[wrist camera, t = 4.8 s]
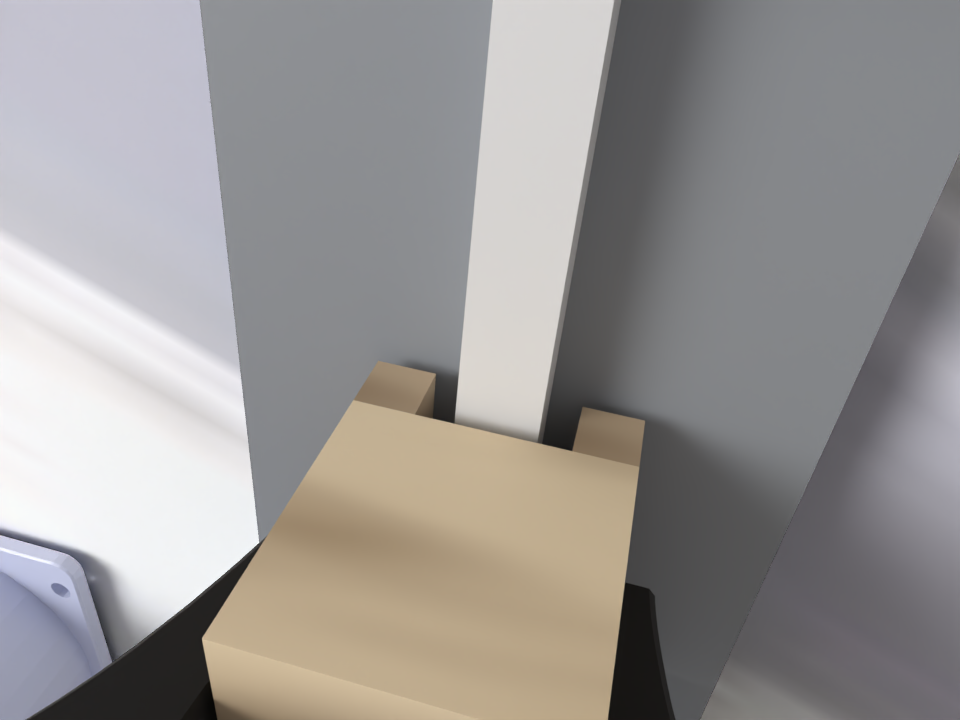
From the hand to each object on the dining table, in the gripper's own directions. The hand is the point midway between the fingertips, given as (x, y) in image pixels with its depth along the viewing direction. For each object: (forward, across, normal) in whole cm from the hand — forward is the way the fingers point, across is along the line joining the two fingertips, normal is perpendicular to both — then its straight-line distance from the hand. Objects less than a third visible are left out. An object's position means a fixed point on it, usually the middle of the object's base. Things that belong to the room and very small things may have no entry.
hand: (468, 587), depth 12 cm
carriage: (+1, 0, 0) cm, 2 cm away
